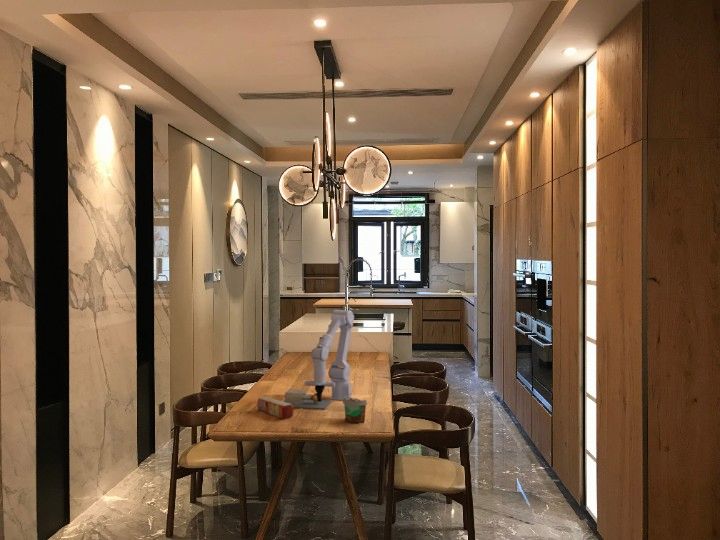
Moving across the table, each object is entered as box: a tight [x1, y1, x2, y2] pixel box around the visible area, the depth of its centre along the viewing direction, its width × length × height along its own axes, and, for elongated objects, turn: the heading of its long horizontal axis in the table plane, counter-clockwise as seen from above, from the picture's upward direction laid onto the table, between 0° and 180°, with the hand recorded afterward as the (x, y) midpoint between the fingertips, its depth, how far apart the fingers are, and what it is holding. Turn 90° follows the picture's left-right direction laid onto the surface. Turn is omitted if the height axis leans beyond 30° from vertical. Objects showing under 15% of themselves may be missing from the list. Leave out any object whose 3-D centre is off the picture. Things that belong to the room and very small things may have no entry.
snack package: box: [256, 395, 294, 420], centre depth 251 cm, size 21×7×7 cm, turn 42°
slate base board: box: [283, 399, 333, 411], centre depth 266 cm, size 22×14×1 cm, turn 80°
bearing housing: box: [284, 388, 307, 405], centre depth 267 cm, size 8×8×6 cm
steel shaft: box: [303, 392, 318, 403], centre depth 267 cm, size 16×4×4 cm, turn 80°
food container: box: [342, 395, 368, 425], centre depth 239 cm, size 12×6×10 cm, turn 45°
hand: (319, 401), depth 265 cm, fingers closed
